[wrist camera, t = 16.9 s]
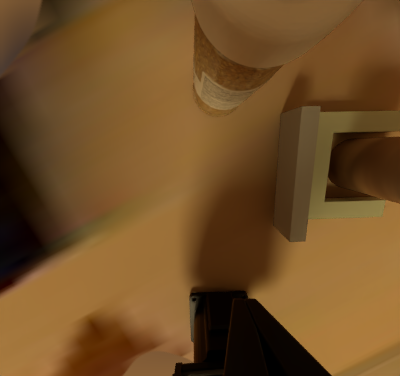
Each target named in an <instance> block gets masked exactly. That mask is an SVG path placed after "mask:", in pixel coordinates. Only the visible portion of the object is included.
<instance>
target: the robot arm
mask: <svg viewBox="0 0 400 376" xmlns="http://www.w3.org/2000/svg"><path fill="white" fill-rule="evenodd" d="M243 295H244V296H243ZM242 296H243V297H242ZM193 298H195V299H193ZM189 301H190V325H191V341H192V342H194V363H187V364H182V363H176V366H175V373H174V374H173V376H332V375H331V374H330V373H329V372H328V371H327V370H326V369H325V368H324V367H323V366H322V365H321V364H320V363H319V362H318V361H317V360H316V359H315V358H314V357H313V356H312V355H311V354H310V353H309V352H308V351H307V350H306V349H305V348H304V347H303V346H302V345H301V344H300V343H299V342H298V341H297V340H296V339H295V338H294V337H293V336H292V335H291V334H290V333H289V332H288V331H287V330H286V329H285V328H284V327H283V326H282V325H281V324H280V323H279V322H278V321H277V320H276V319H275V318H274V317H273V316H272V315H271V314H270V313H269V312H268V311H267V310H266V309H265V308H264V307H263V306H262V305H261V304H260V303H259V302H258V301H257V300H256V299H248V295H247V293H246V292H245V291H228V292H204V293H192V294H191V295H190V298H189Z"/></svg>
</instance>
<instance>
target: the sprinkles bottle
mask: <svg viewBox="0 0 400 376" xmlns="http://www.w3.org/2000/svg"><path fill="white" fill-rule="evenodd" d="M191 1H192V5H193V9H194V12H195V29H194V30H195V36H194V55H193V81H194V82H193V95H194V98H195V101H196V103H197V105H198V106H199V107H200V109H201V110H203V111H204V112H205V113H206V114H209V115H211V116H216V117H219V116H225V115H227V114H229V113H231V112H233V111H234V110H235V109H236V108H237V107H238V106H239V105H240V104H241V103H242V102H244V101H245V100H246V99H247V98H248V97H250V96H251V95H252V94H253V93H254V92H256V91H257V90H258V89H259V88H260V87H261V86H263V85H264V84H265V83H266V82H267V81H268V80H269V79H270V78H271V77H272V76H273V75H274V74H275V73H276V72H277V71H278V70H279V69H280V68H281V67H282V66H283V65H285V64H286V63H289V62H291V61H293V60H295V59H297V58H299V57H300V56H302V55H303V54H305V53H306V52H307V51H309V50H310V49H311V48H312V47H314V46H315V45H316V44H317V43H318V42H320V41H321V40H322V39H323V38H325V37H326V36H327V35H328V34H329V33H330V32H331V31H333V30H334V29H335V28H336V27H337V26H338V25H339V24H340V23H341V22H343V21H344V20H345V19H346V18H347V17H348V16H349V15H350V14H351V13H352V12H353V11H354V10H355V9H356V8H357V7H358V6H359V4H360V3H361V2H362V1H363V0H191Z"/></svg>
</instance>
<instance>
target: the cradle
mask: <svg viewBox="0 0 400 376" xmlns="http://www.w3.org/2000/svg"><path fill="white" fill-rule="evenodd" d="M391 131H400V111H350V112H320V117H319V126H318V135H317V143H316V152H315V161H314V170H313V179H312V188H311V197H310V206H309V215H308V219H331V218H361V217H382V216H383V211H384V206H385V201H386V200H383V199H380V198H376V197H353V198H325V194H326V186H327V178H328V170H329V163H330V155H331V147H332V140H333V133H355V132H391Z"/></svg>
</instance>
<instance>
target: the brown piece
mask: <svg viewBox="0 0 400 376" xmlns="http://www.w3.org/2000/svg"><path fill="white" fill-rule="evenodd" d="M328 177H329V179H330V180H331V182H332V183H334V184H335V185H337V186H339V187H343V188H346V189H350V190H353V191H357V192H360V193H364V194H367V195H371V196H375V197H378V198H382V199H385V200H389V201H392V202H396V203H399V204H400V137H384V138H361V139H349V140H346V141H343V142H341V143H340V144H338V145H337V146H336V147H335V148H334V149H333V150H332V152H331V155H330V163H329V170H328Z"/></svg>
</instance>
